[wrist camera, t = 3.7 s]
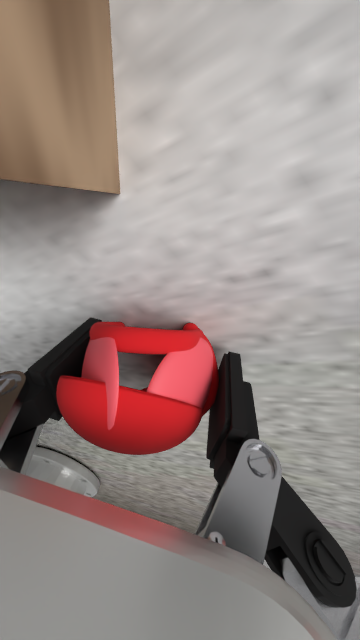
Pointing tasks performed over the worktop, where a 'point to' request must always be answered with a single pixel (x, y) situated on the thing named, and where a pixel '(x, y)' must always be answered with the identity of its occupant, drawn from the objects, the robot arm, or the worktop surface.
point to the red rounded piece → (140, 405)
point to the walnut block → (58, 94)
